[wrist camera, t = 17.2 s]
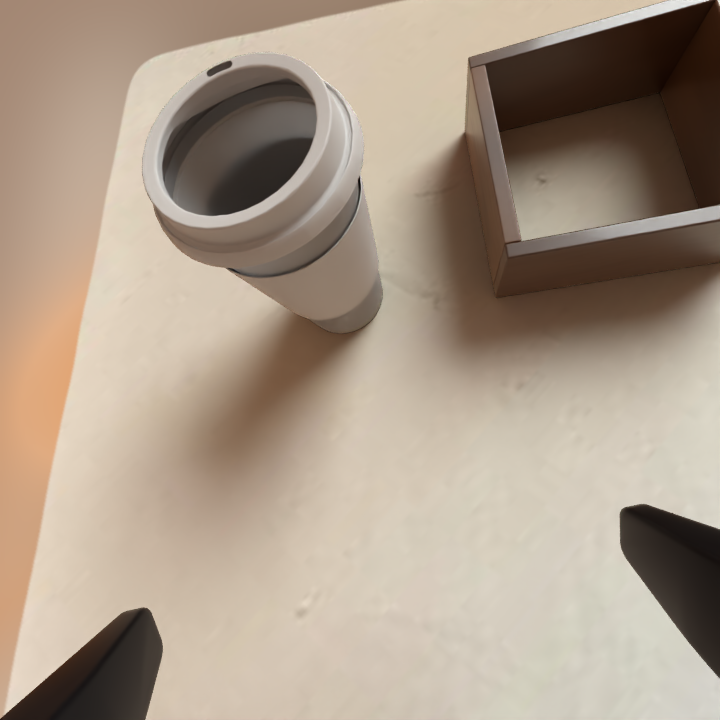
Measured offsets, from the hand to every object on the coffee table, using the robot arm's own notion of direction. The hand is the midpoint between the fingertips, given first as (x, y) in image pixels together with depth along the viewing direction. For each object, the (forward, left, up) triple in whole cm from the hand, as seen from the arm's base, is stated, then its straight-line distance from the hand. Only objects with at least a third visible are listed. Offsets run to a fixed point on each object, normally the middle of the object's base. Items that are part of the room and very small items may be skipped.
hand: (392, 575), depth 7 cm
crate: (0, -18, -12) cm, 22 cm away
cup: (+9, -7, -12) cm, 17 cm away
